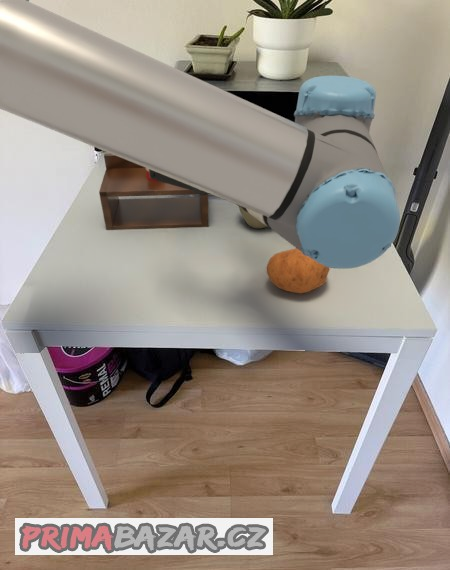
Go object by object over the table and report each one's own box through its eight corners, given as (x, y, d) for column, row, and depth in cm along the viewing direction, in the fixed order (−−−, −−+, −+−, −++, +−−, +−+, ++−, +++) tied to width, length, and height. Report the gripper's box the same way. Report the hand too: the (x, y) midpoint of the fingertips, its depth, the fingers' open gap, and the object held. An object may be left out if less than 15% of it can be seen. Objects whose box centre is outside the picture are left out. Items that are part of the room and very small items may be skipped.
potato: (330, 303, 77) (337, 269, 73) (266, 301, 78) (269, 267, 73) (322, 270, 84) (328, 238, 80) (263, 269, 85) (266, 236, 80)
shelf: (106, 229, 95) (96, 178, 87) (112, 202, 104) (104, 153, 96) (208, 226, 96) (207, 175, 88) (206, 199, 105) (205, 151, 98)
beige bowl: (242, 208, 102) (243, 179, 98) (284, 215, 100) (288, 186, 96) (229, 230, 95) (230, 200, 91) (275, 238, 93) (278, 208, 88)
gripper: (184, 242, 55) (114, 177, 69) (327, 190, 66) (243, 143, 80) (181, 187, 51) (107, 130, 64) (336, 142, 62) (245, 100, 75)
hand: (182, 137), depth 72 cm, fingers open, 13 cm apart
